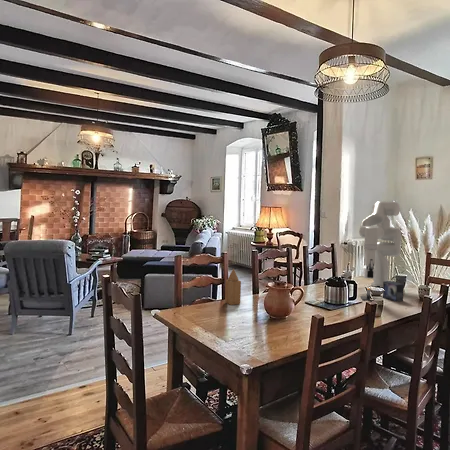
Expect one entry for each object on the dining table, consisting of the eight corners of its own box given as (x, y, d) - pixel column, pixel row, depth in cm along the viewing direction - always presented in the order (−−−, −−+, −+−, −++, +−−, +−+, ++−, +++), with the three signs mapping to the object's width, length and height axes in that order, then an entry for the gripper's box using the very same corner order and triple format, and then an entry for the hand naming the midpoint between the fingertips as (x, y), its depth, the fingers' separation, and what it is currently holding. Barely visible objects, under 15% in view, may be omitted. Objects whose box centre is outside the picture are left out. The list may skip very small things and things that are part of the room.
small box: (381, 297, 240) (382, 281, 239) (389, 296, 242) (390, 280, 242) (395, 301, 230) (396, 284, 229) (403, 300, 233) (404, 283, 232)
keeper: (360, 297, 239) (360, 286, 239) (373, 298, 237) (374, 287, 237) (362, 300, 231) (362, 289, 231) (376, 301, 230) (376, 290, 229)
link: (363, 276, 237) (363, 268, 237) (373, 276, 236) (373, 268, 235) (364, 278, 231) (365, 269, 231) (375, 278, 230) (375, 270, 230)
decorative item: (234, 301, 221) (235, 267, 219) (240, 304, 215) (241, 268, 214) (224, 302, 217) (225, 267, 216) (231, 305, 212) (232, 269, 210)
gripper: (362, 245, 242) (360, 273, 243) (366, 248, 225) (364, 278, 226) (374, 246, 240) (373, 274, 241) (380, 249, 223) (378, 279, 224)
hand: (369, 276), depth 233 cm, fingers closed on link, 6 cm apart
